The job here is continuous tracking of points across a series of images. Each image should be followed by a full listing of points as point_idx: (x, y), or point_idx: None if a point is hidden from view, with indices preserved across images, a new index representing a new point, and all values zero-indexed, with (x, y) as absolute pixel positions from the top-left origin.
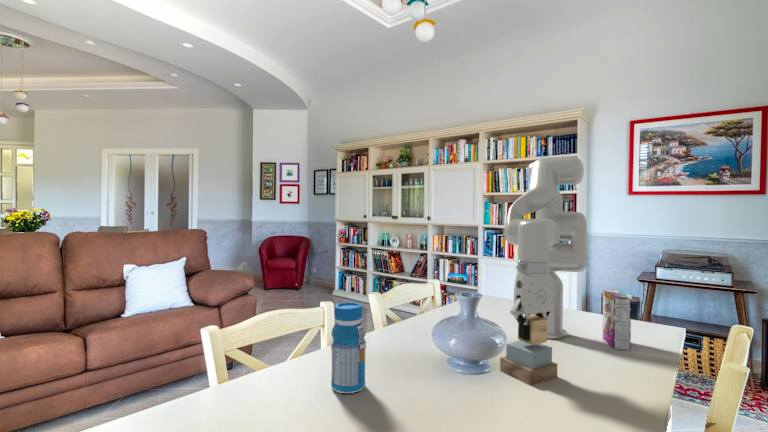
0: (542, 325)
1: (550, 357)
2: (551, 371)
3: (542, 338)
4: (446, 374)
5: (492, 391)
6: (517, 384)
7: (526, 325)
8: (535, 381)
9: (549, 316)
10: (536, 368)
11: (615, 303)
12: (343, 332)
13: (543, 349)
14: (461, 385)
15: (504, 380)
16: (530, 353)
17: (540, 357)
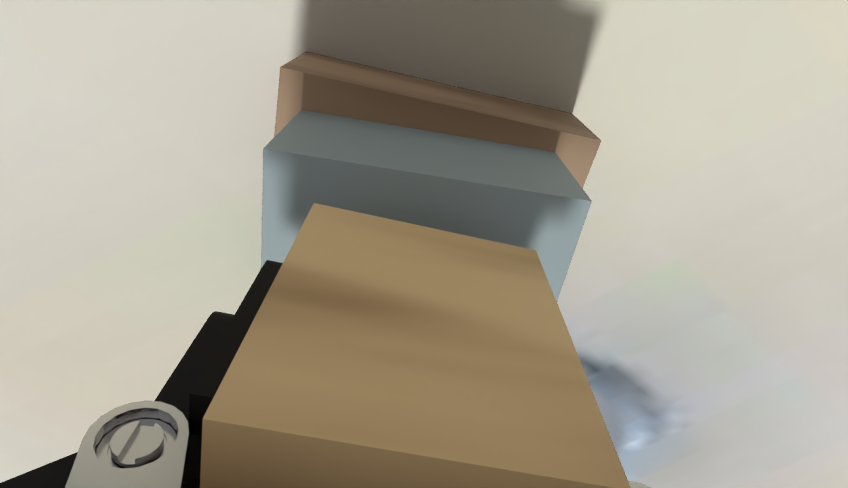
0: (366, 357)
1: (311, 124)
2: (362, 75)
3: (381, 244)
4: (718, 447)
5: (793, 219)
6: (608, 174)
7: (638, 483)
8: (526, 106)
9: None
10: (514, 135)
11: None
12: None
13: (399, 177)
14: (806, 350)
15: (603, 249)
16: (583, 214)
17: (452, 158)
